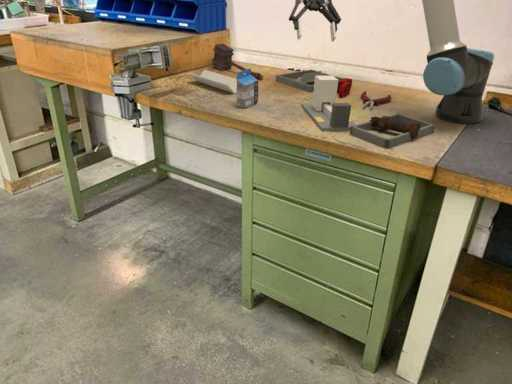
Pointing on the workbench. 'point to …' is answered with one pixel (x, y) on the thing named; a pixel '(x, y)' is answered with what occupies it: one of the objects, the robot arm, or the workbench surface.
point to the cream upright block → (324, 91)
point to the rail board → (320, 114)
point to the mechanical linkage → (344, 87)
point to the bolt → (396, 125)
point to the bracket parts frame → (288, 80)
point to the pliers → (373, 101)
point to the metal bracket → (309, 77)
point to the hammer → (228, 60)
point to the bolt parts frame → (361, 132)
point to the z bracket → (217, 81)
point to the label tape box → (246, 89)
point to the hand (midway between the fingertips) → (316, 38)
